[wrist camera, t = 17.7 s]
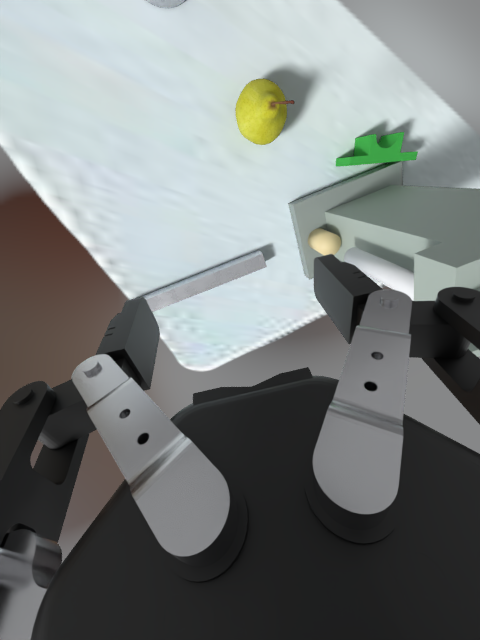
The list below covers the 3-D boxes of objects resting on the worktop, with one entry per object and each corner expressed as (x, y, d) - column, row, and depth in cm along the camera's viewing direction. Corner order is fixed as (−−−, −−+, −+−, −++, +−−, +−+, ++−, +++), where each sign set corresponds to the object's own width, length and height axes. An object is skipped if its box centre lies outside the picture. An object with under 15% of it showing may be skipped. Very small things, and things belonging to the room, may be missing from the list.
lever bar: (129, 301, 49) (126, 307, 46) (259, 249, 48) (262, 253, 46) (136, 312, 50) (133, 319, 48) (263, 262, 49) (266, 266, 47)
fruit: (226, 134, 39) (239, 119, 28) (241, 78, 36) (261, 38, 26) (267, 153, 41) (293, 145, 31) (284, 101, 38) (320, 73, 28)
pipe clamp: (401, 134, 43) (422, 130, 39) (395, 161, 45) (416, 159, 41) (337, 139, 42) (353, 135, 38) (335, 166, 44) (349, 165, 40)
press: (288, 203, 45) (486, 257, 15) (392, 161, 44) (812, 130, 14) (304, 275, 52) (461, 410, 22) (394, 239, 52) (679, 328, 21)
